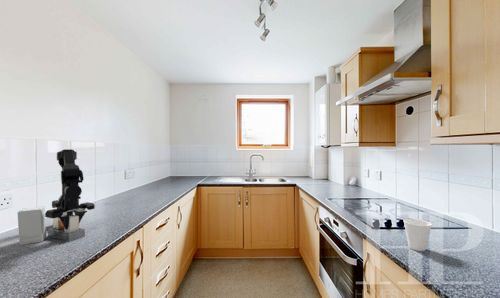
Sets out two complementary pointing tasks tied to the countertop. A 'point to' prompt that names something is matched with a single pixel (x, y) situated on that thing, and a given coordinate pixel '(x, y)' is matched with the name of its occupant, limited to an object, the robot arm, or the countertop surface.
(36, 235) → the skincare box
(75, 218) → the pale upright block
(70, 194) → the robot arm
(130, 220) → the countertop surface
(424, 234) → the cup
